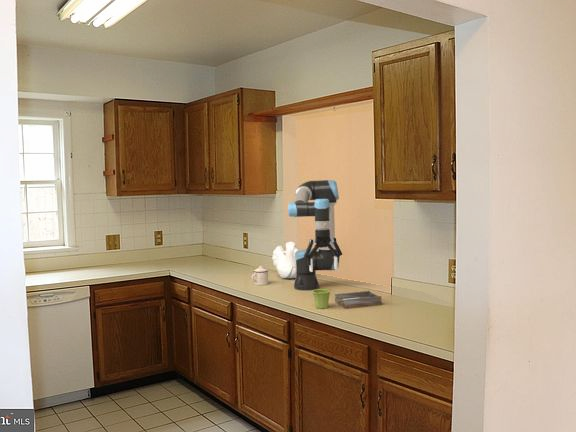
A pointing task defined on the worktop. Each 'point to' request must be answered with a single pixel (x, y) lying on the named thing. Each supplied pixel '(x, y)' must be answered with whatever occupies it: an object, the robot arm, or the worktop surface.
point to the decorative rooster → (286, 260)
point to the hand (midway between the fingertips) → (323, 270)
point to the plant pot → (321, 298)
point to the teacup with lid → (260, 276)
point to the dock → (357, 299)
